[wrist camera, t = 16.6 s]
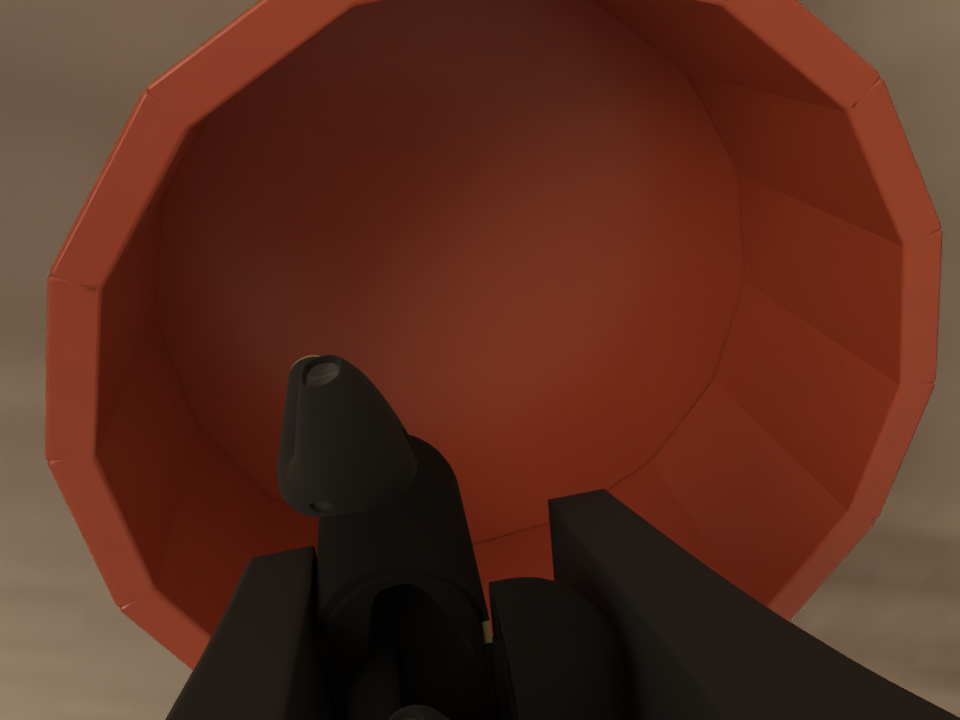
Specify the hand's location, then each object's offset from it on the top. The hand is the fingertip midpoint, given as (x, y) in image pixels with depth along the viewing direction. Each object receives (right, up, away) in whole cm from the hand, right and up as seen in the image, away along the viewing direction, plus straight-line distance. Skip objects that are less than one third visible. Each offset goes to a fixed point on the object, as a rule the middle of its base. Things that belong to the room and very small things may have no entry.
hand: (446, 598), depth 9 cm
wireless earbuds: (0, +1, +1) cm, 2 cm away
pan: (0, +4, +8) cm, 9 cm away
